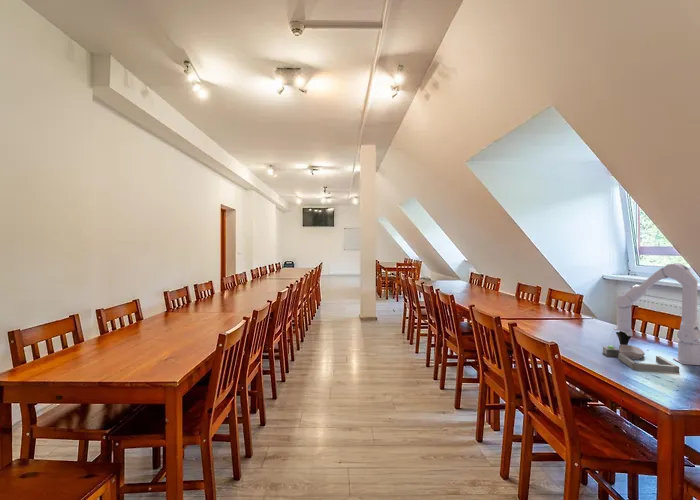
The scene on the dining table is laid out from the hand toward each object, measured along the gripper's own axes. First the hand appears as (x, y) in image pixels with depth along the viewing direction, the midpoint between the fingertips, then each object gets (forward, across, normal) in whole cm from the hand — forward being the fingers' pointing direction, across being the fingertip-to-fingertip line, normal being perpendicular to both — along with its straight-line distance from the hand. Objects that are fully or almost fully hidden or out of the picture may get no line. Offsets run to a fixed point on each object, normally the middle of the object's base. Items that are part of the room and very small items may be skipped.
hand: (623, 347), depth 187 cm
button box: (+1, +10, -9) cm, 14 cm away
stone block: (+2, +10, 0) cm, 10 cm away
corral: (+1, +24, 0) cm, 25 cm away
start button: (+1, +11, -9) cm, 14 cm away
